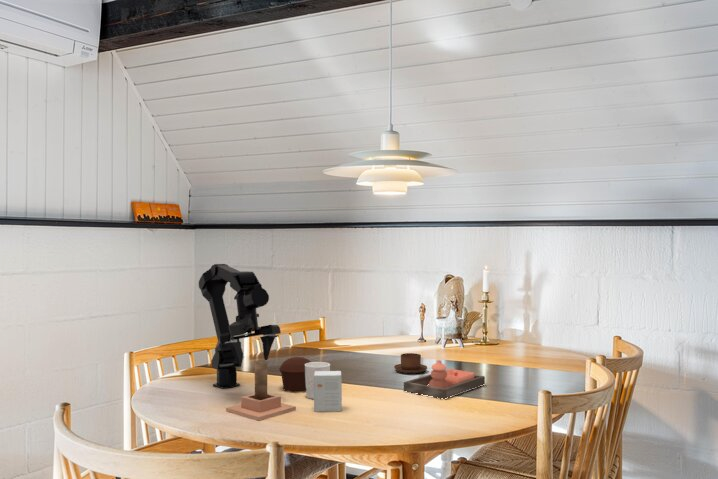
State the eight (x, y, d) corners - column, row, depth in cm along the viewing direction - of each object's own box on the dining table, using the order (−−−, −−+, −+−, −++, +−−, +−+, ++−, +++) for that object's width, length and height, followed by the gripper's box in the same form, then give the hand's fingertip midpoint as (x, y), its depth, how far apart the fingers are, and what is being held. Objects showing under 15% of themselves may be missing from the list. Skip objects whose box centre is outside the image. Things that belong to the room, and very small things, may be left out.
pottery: (451, 380, 228) (451, 352, 228) (475, 385, 222) (475, 356, 222) (420, 390, 214) (420, 360, 214) (445, 395, 208) (445, 364, 208)
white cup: (316, 392, 211) (316, 360, 211) (335, 396, 206) (335, 364, 206) (299, 396, 205) (299, 364, 205) (317, 401, 200) (318, 368, 200)
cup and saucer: (388, 370, 245) (388, 353, 245) (416, 367, 250) (416, 351, 250) (404, 376, 234) (404, 359, 234) (433, 373, 239) (433, 356, 239)
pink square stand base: (226, 411, 189) (226, 397, 189) (263, 401, 200) (263, 388, 199) (258, 420, 180) (258, 406, 180) (295, 410, 190) (295, 396, 190)
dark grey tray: (403, 391, 212) (403, 382, 212) (445, 378, 231) (445, 369, 231) (444, 399, 202) (444, 390, 202) (484, 385, 221) (484, 376, 221)
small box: (341, 406, 195) (341, 370, 195) (341, 411, 189) (341, 374, 189) (314, 406, 195) (314, 370, 194) (313, 411, 189) (313, 374, 189)
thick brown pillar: (252, 408, 188) (252, 362, 188) (257, 405, 192) (257, 360, 192) (264, 409, 187) (264, 363, 187) (269, 405, 191) (269, 360, 191)
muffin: (281, 393, 209) (281, 362, 209) (276, 385, 220) (276, 355, 219) (318, 391, 212) (318, 360, 212) (311, 383, 223) (311, 353, 223)
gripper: (206, 316, 202) (212, 367, 199) (260, 305, 195) (266, 358, 192) (226, 316, 212) (232, 366, 209) (278, 306, 206) (284, 357, 203)
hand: (252, 362), depth 203 cm, fingers open, 9 cm apart
